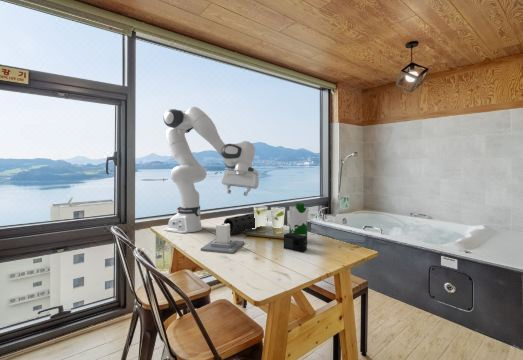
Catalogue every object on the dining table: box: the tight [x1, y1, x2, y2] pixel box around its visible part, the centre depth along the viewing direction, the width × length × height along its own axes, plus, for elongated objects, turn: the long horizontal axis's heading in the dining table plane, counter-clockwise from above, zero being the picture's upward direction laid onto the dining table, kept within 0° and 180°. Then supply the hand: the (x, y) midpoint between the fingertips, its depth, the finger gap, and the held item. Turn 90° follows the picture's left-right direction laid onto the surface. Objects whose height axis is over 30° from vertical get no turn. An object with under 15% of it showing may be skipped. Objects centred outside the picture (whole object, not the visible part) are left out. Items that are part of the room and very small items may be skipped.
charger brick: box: [215, 222, 231, 244], centre depth 134 cm, size 6×4×10 cm
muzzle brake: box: [223, 212, 269, 236], centre depth 164 cm, size 10×28×10 cm, turn 136°
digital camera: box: [283, 232, 308, 254], centre depth 130 cm, size 10×5×7 cm, turn 55°
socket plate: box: [200, 238, 245, 255], centre depth 134 cm, size 16×16×2 cm
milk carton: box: [288, 202, 309, 237], centre depth 143 cm, size 9×9×20 cm
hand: (236, 194), depth 145 cm, fingers open, 8 cm apart
